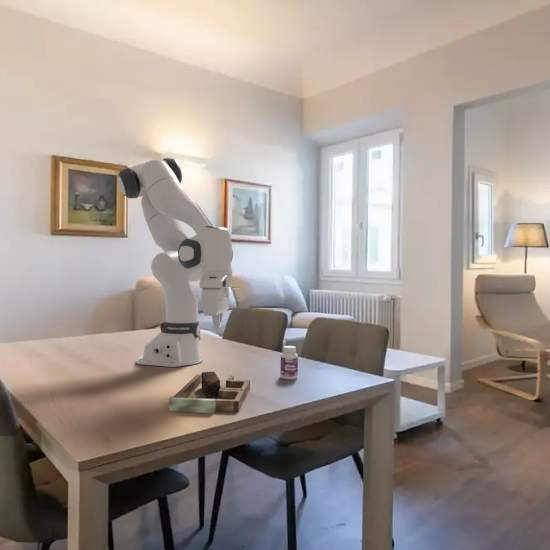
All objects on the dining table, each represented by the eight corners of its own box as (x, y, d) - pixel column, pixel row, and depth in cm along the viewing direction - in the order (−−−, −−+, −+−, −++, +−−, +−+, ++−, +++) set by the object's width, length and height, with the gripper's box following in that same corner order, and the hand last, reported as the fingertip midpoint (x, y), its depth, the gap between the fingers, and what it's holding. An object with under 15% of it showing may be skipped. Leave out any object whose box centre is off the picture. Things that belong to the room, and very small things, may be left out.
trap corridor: (168, 411, 111) (169, 398, 110) (196, 382, 136) (196, 372, 136) (237, 414, 109) (237, 401, 109) (252, 384, 135) (252, 374, 135)
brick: (200, 388, 132) (200, 371, 131) (214, 387, 133) (214, 370, 132) (205, 399, 121) (206, 381, 121) (221, 398, 122) (221, 380, 122)
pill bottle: (285, 380, 141) (285, 348, 140) (277, 376, 145) (277, 345, 145) (300, 378, 143) (301, 347, 143) (292, 374, 148) (292, 344, 147)
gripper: (214, 279, 147) (214, 323, 147) (197, 282, 126) (198, 333, 127) (234, 279, 146) (234, 323, 146) (220, 282, 126) (220, 333, 126)
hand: (217, 328), depth 136 cm, fingers closed
